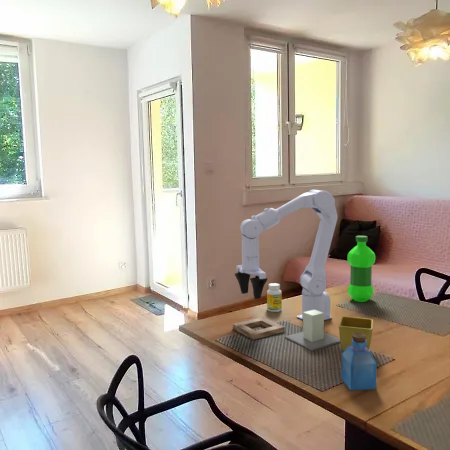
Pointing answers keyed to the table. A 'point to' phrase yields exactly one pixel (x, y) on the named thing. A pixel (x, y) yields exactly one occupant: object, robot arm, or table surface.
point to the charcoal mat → (314, 345)
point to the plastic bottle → (361, 270)
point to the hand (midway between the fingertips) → (250, 295)
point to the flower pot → (354, 330)
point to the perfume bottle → (359, 365)
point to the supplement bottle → (274, 298)
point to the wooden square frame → (269, 330)
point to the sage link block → (313, 325)
